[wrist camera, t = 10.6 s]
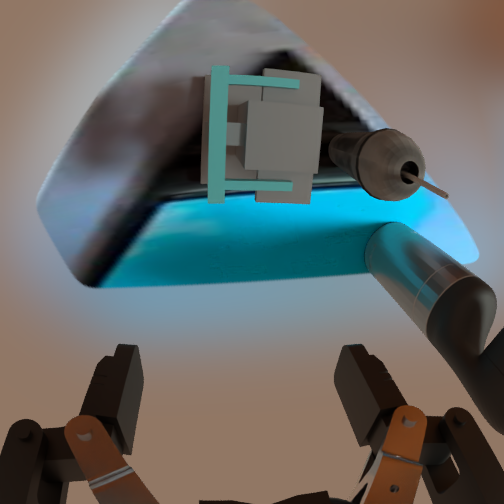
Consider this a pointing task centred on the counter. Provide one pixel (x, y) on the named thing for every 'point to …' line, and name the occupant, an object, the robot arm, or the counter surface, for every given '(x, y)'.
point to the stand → (271, 135)
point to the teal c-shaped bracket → (219, 128)
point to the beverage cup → (382, 163)
